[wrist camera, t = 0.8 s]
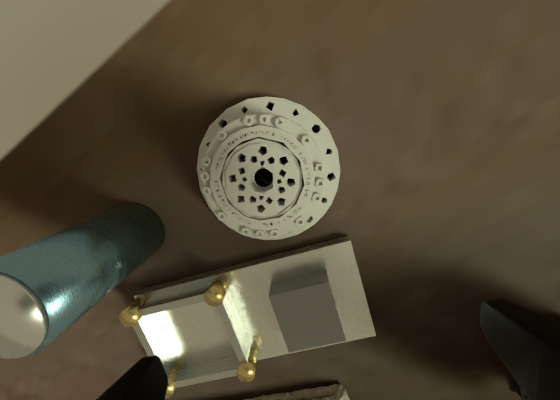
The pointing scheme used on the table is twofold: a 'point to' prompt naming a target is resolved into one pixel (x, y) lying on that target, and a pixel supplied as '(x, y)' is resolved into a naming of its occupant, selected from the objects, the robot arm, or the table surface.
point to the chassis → (251, 313)
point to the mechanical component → (268, 168)
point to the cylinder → (70, 274)
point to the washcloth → (309, 394)
